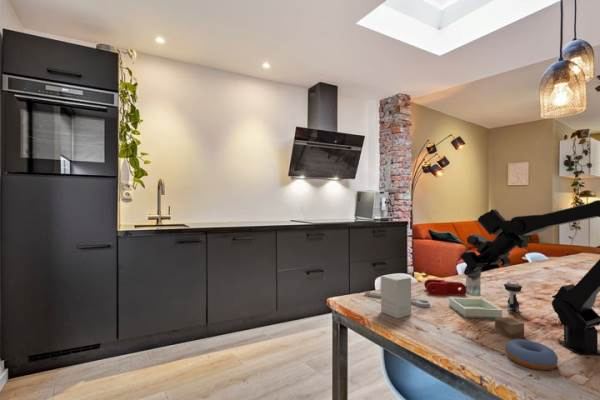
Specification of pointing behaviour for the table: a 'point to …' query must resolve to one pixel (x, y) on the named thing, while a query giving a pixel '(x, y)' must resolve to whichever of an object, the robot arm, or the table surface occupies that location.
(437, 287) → the mechanical linkage
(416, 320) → the table surface
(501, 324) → the walnut block
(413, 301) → the adjustable wrench
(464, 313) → the bin
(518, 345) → the doughnut
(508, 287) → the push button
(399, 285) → the supplement box
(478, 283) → the pepper shaker
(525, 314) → the table surface
